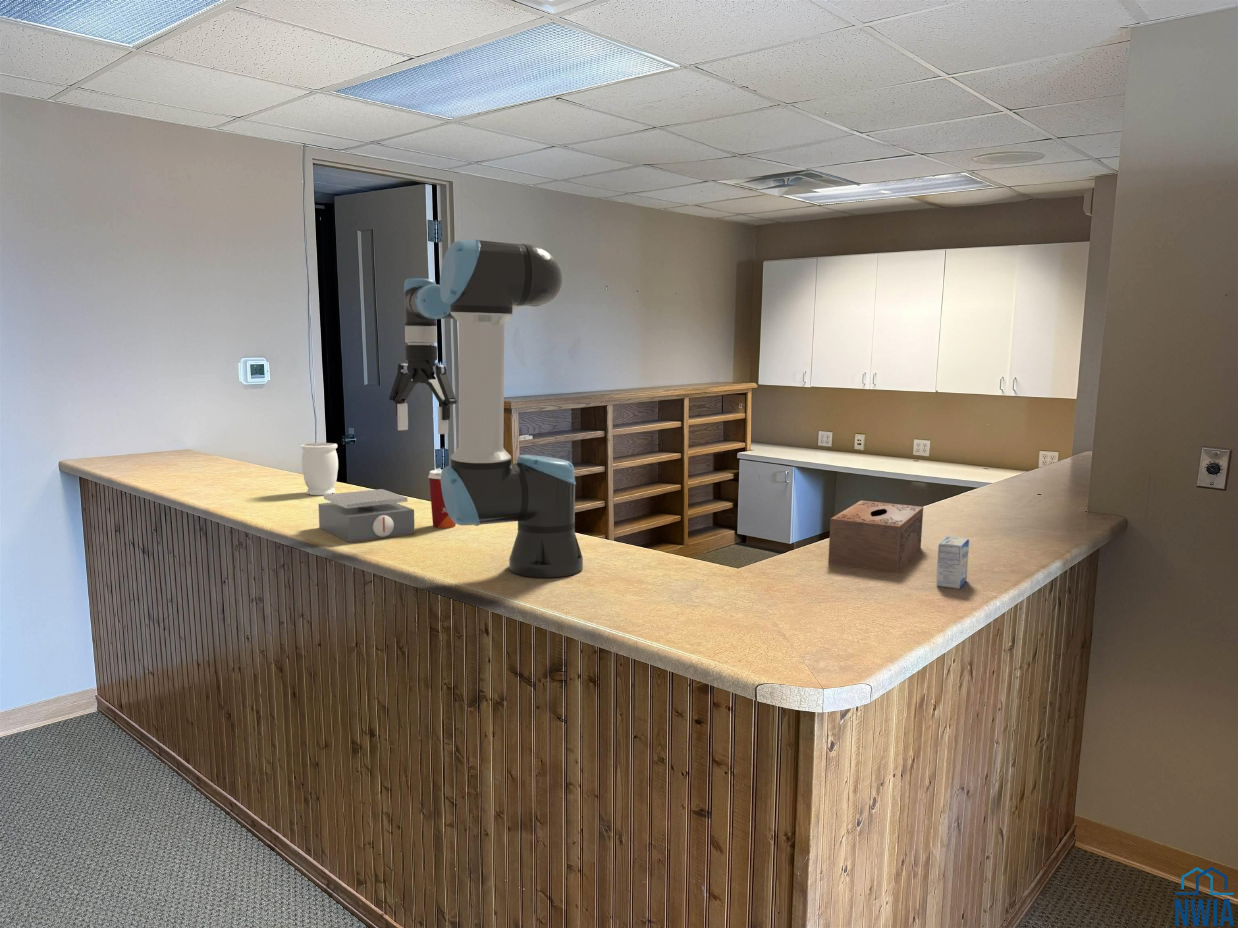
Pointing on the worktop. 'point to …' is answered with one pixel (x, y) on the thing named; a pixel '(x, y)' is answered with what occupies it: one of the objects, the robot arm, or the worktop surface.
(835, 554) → the tissue box cover
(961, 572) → the medicine box
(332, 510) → the scale base
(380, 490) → the scale pan
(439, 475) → the paper cup
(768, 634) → the worktop surface
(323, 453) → the jar
